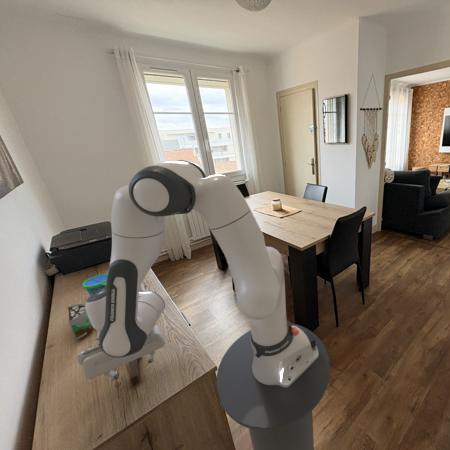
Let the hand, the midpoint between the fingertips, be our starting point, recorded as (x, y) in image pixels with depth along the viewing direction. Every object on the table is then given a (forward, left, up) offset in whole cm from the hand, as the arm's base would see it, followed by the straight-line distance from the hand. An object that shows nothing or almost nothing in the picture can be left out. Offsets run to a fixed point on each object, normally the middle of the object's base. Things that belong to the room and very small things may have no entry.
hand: (134, 369), depth 76 cm
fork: (0, -3, -2) cm, 4 cm away
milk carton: (-2, -39, -3) cm, 40 cm away
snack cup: (+12, -57, -3) cm, 59 cm away
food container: (+16, -35, -3) cm, 39 cm away
